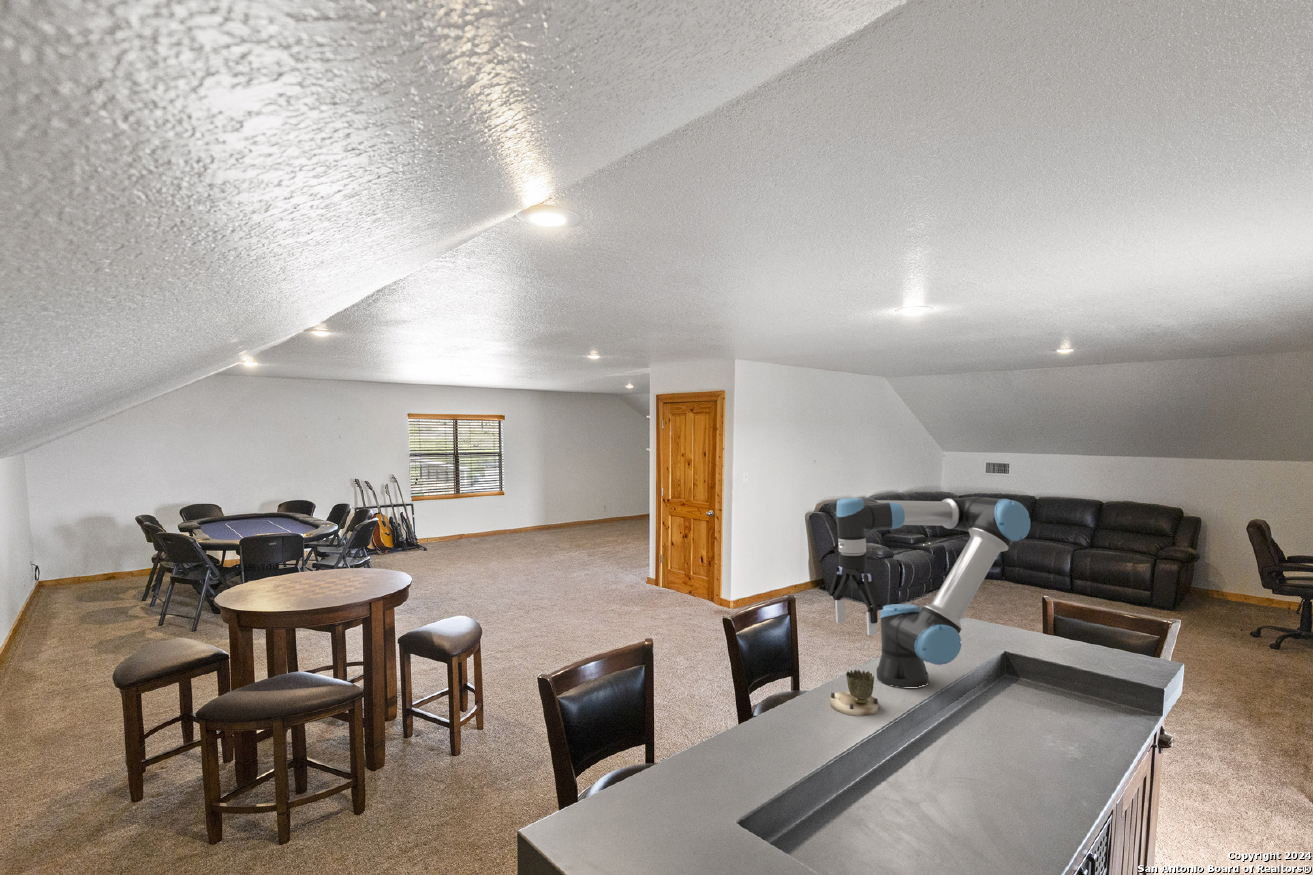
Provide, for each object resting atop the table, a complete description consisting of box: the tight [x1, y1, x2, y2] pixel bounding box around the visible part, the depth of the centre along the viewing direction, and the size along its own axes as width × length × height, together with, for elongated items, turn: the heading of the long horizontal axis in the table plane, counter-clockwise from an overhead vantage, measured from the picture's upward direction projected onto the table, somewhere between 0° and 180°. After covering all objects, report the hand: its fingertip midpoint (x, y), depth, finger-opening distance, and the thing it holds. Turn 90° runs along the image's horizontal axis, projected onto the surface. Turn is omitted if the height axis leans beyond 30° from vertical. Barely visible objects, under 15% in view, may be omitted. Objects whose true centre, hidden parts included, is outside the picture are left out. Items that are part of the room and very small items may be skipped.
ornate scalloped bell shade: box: [845, 669, 875, 705], centre depth 175 cm, size 8×7×8 cm
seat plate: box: [829, 690, 879, 717], centre depth 177 cm, size 13×13×3 cm
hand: (856, 628), depth 178 cm, fingers open, 13 cm apart
